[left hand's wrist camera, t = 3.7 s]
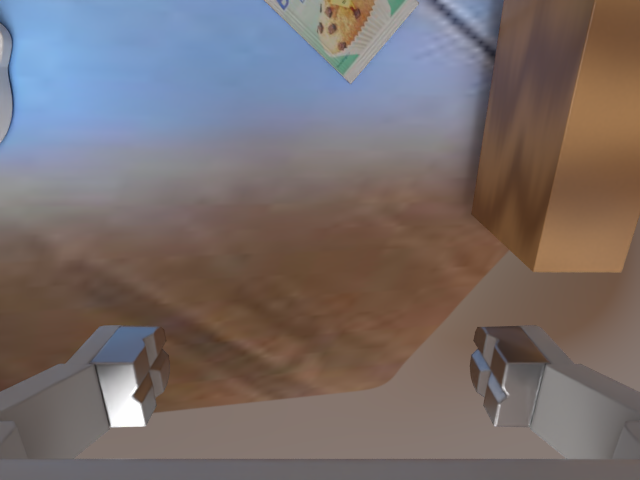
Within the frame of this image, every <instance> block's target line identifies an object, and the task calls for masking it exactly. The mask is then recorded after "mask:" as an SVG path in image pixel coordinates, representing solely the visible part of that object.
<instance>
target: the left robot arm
mask: <svg viewBox="0 0 640 480" xmlns="http://www.w3.org/2000/svg"><path fill="white" fill-rule="evenodd" d="M11 49H12V40H11V36H10V34H9V32H8V30H7V29H6V28H5V27H4V26H3V25H2V24H1V23H0V143H1V142H2V140H3V139H4V137H5V135H6V133H7V131H8V129H9V126H10V122H11V118H12V93H11V88H10V82H9V77H8V65H9V60H10V55H11ZM165 342H166V336H165V331H164V329H163V328H162V327H161V326H121V325H113V326H101V327H99V328H98V329H97V330H96V331H95V332H94V333H93V335H92V336H91V337H90V338H89V339H88V340H87V341H86V342H85V343H84V344H83V345H82V347H81V348H80V349H79V350H78V351H77V352H76V353H75V354H74V355H73V356H72V357H71V358H70V360H69V361H68V362H67V363H66V364H58V365H56V366H54V367H52V368H50V369H48V370H46V371H43V372H41V373H39V374H37V375H35V376H33V377H31V378H29V379H27V380H25V381H23V382H20V383H18V384H16V385H14V386H12V387H10V388H8V389H6V390H4V391H2V392H0V480H640V392H638V391H636V390H634V389H632V388H630V387H628V386H626V385H624V384H621V383H619V382H617V381H615V380H613V379H611V378H609V377H607V376H605V375H603V374H601V373H599V372H597V371H594V370H592V369H590V368H588V367H586V366H584V365H582V364H574V363H573V362H572V361H571V360H570V358H568V356H567V355H566V354H565V353H564V352H563V351H562V350H561V349H560V348H559V346H558V345H557V344H556V343H555V342H554V341H553V340H552V339H551V338H550V337H549V336H548V335H547V333H546V332H545V331H544V330H543V329H542V328H541V327H539V326H536V325H528V326H500V327H477V329H476V331H475V336H474V342H475V344H476V346H477V347H478V349H477V350H476V351H475V352H474V353H473V354H472V355H471V361H470V373H471V379H472V383H473V386H474V388H475V390H476V392H477V393H479V394H480V395H482V396H483V397H484V398H485V399H484V407H485V409H486V411H487V413H488V415H489V417H490V419H491V421H492V423H493V425H494V426H501V427H530V429H531V430H532V431H533V432H534V433H536V434H537V435H538V436H539V437H541V438H542V439H543V440H544V441H545V442H547V443H548V444H549V445H550V446H552V447H553V448H554V449H555V450H556V451H558V452H559V453H560V454H561V455H563V456H564V457H565V458H566V459H74V458H75V457H76V456H78V455H79V454H80V453H81V452H83V451H84V450H85V449H86V448H87V447H89V446H90V445H91V444H92V443H94V442H95V441H96V440H97V439H98V438H100V437H101V436H102V435H103V434H104V433H106V432H107V431H108V430H109V429H110V427H138V426H146V425H147V423H148V421H149V419H150V417H151V415H152V413H153V411H154V409H155V407H156V406H157V405H156V399H155V398H156V397H157V396H158V395H160V394H161V393H163V392H164V390H165V388H166V385H167V383H168V379H169V374H170V360H169V355H168V354H167V353H166V352H165V351H164V350H163V349H162V347H163V346H164V344H165Z"/></svg>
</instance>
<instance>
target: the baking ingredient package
mask: <svg viewBox="0 0 640 480" xmlns="http://www.w3.org/2000/svg"><path fill="white" fill-rule="evenodd" d="M264 1H265V2H266V3H267V4H268V5H270V6H271V7H272V8H273V9H274V10H275V11H276V12H277V13H278V14H279V15H280V16H281V17H282V18H283V19H284V20H285V21H286V22H287V23H288V24H289V25H290V26H291V27H292V28H293V29H294V30H295V31H296V32H297V33H298V34H299V35H301V36H302V37H303V38H304V39H305V40H306V41H307V42H308V43H309V44H310V45H311V46H312V47H313V48H314V49H315V50H316V51H317V52H318V53H319V54H320V55H321V56H322V57H323V58H324V59H325V60H326V61H327V62H328V63H329V64H331V65H332V66H333V67H334V68H335V69H336V70H337V71H338V72H339V73H340V74H341V75H342V76H343V77H344V78H345V79H346V80H347V81H348V82H349V83H350V84H351V83H352V82H353V81H354V80H355V78H356V77H357V76H358V75H359V74H360V73H361V71H362V70H363V69H364V68H365V67H366V65H367V64H368V63H369V62H370V61H371V60H372V58H373V57H374V56H375V55H376V54H377V52H378V51H379V50H380V49H381V48H382V47H383V45H384V44H385V43H386V42H387V41H388V40H389V38H390V37H391V36H392V35H393V34H394V32H395V31H396V30H397V29H398V28H399V27H400V25H401V24H402V23H403V22H404V21H405V20H406V18H407V17H408V16H409V15H410V14H411V12H412V11H413V10H414V9H415V8H416V7H417V5H418V4H419V3H418V2H417V1H416V0H264Z"/></svg>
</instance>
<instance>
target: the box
mask: <svg viewBox="0 0 640 480" xmlns="http://www.w3.org/2000/svg"><path fill="white" fill-rule="evenodd" d="M472 215H473V216H474V217H475V218H476V219H477V220H478V221H479V222H480V223H481V224H482V225H483V226H485V227H486V228H487V229H488V230H489V231H490V232H491V233H492V234H493V235H494V236H495V237H496V238H497V239H498V240H500V241H501V242H502V243H503V244H504V245H505V246H506V247H507V248H508V249H509V250H510V251H511V252H512V253H513V254H515V255H516V256H517V257H518V258H519V259H520V260H521V261H522V262H523V263H524V264H525V265H526V266H527V267H528V268H530V269H531V270H532V271H533V272H622V269H623V266H624V262H625V259H626V256H627V253H628V250H629V247H630V244H631V240H632V237H633V234H634V231H635V228H636V225H637V222H638V219H639V216H640V0H504V3H503V9H502V16H501V23H500V29H499V36H498V42H497V49H496V56H495V62H494V69H493V75H492V82H491V88H490V95H489V102H488V108H487V115H486V121H485V128H484V135H483V141H482V148H481V154H480V161H479V168H478V174H477V181H476V187H475V194H474V200H473V207H472Z"/></svg>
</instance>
